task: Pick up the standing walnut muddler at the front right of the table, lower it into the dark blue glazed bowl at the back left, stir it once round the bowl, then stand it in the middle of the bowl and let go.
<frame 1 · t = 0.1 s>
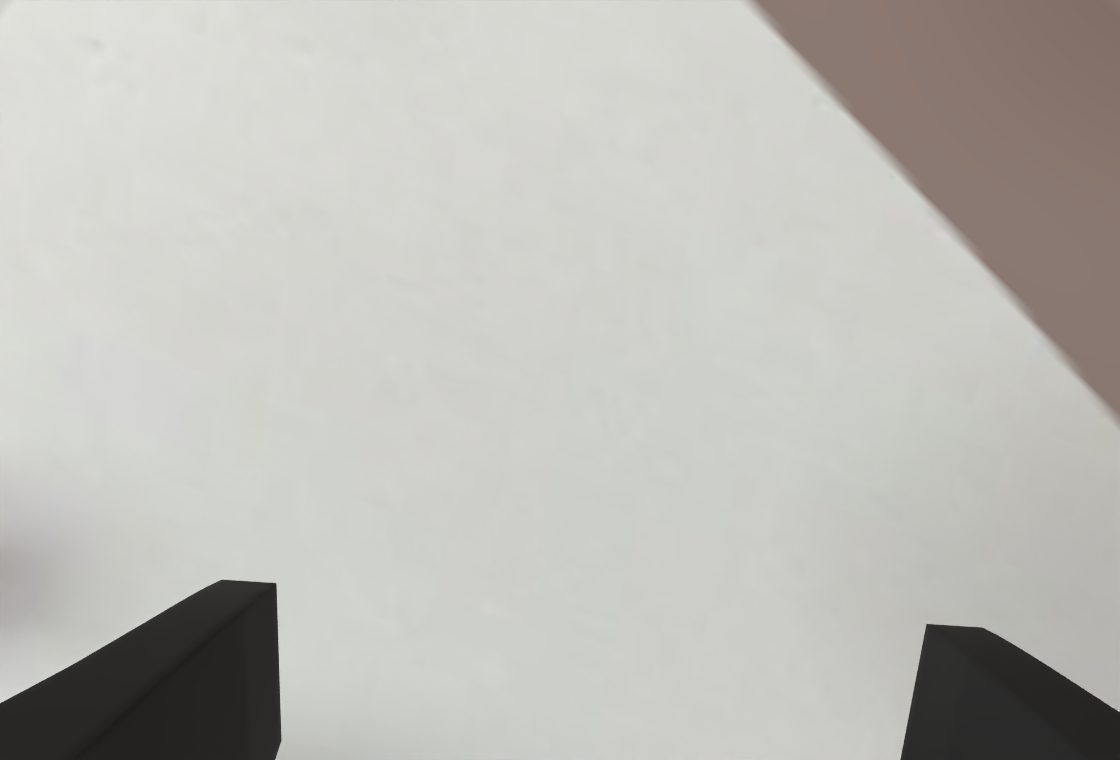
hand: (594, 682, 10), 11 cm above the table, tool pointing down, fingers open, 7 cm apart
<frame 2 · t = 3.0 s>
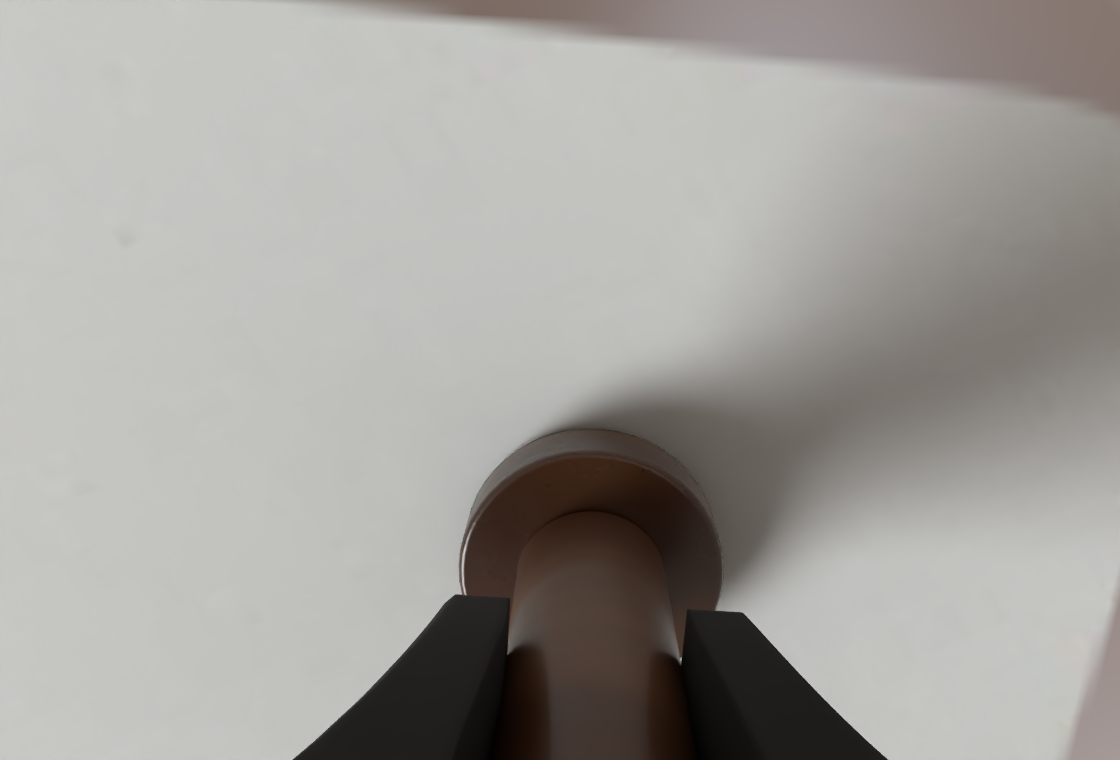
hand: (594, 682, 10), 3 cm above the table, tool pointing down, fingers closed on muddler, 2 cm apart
muddler: (590, 543, 14), on the table, touching gripper
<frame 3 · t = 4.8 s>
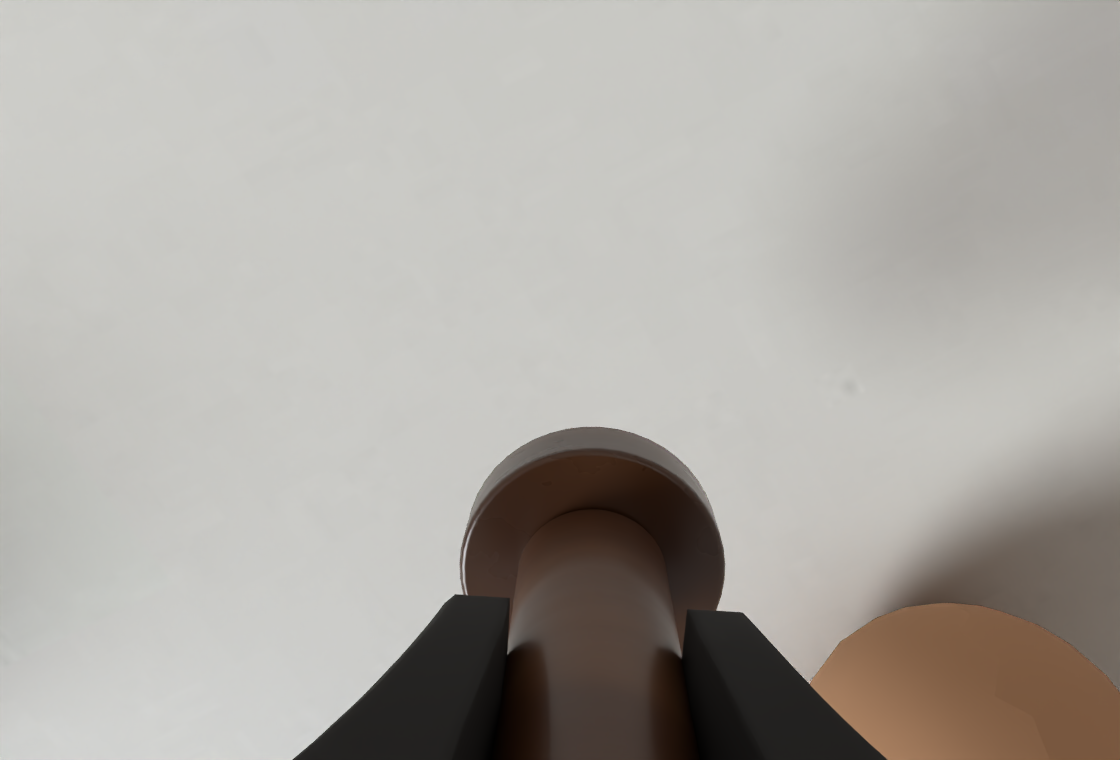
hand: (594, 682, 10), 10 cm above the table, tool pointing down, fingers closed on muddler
muddler: (591, 541, 14), point 6 cm above the table, touching gripper
egg: (901, 662, 22), on the table
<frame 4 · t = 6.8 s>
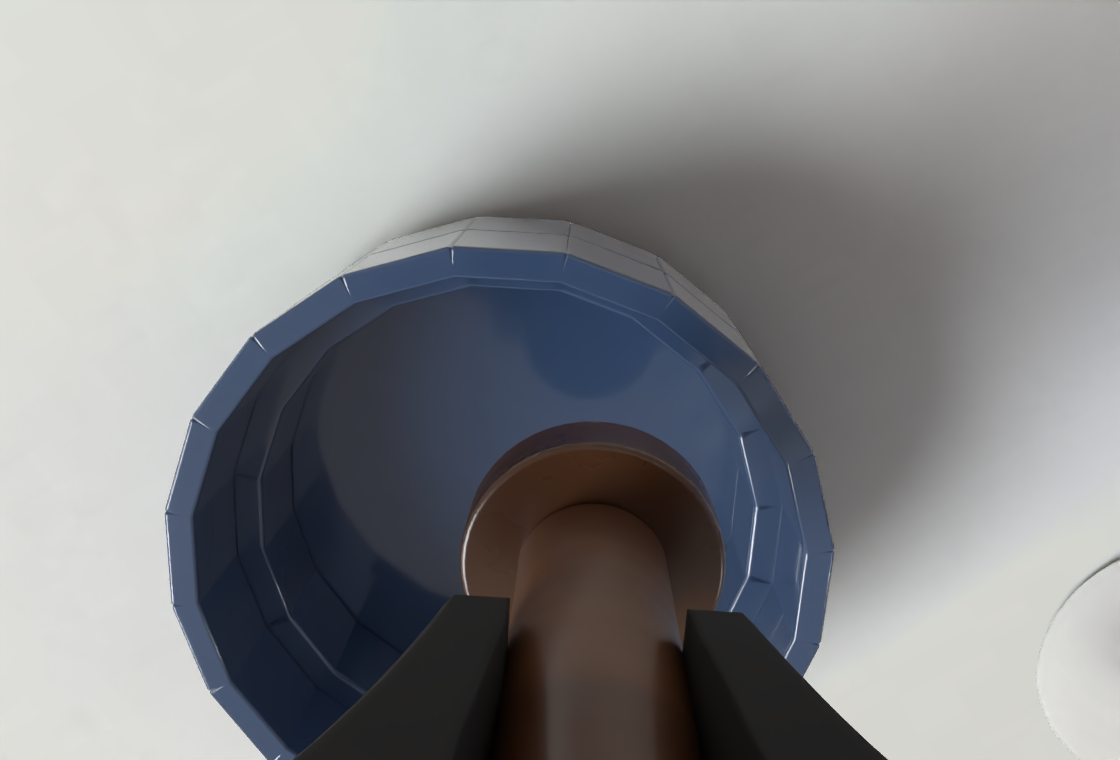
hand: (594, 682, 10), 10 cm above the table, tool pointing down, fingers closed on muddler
bowl: (515, 478, 21), on the table
muddler: (591, 536, 14), point 7 cm above the table, touching gripper
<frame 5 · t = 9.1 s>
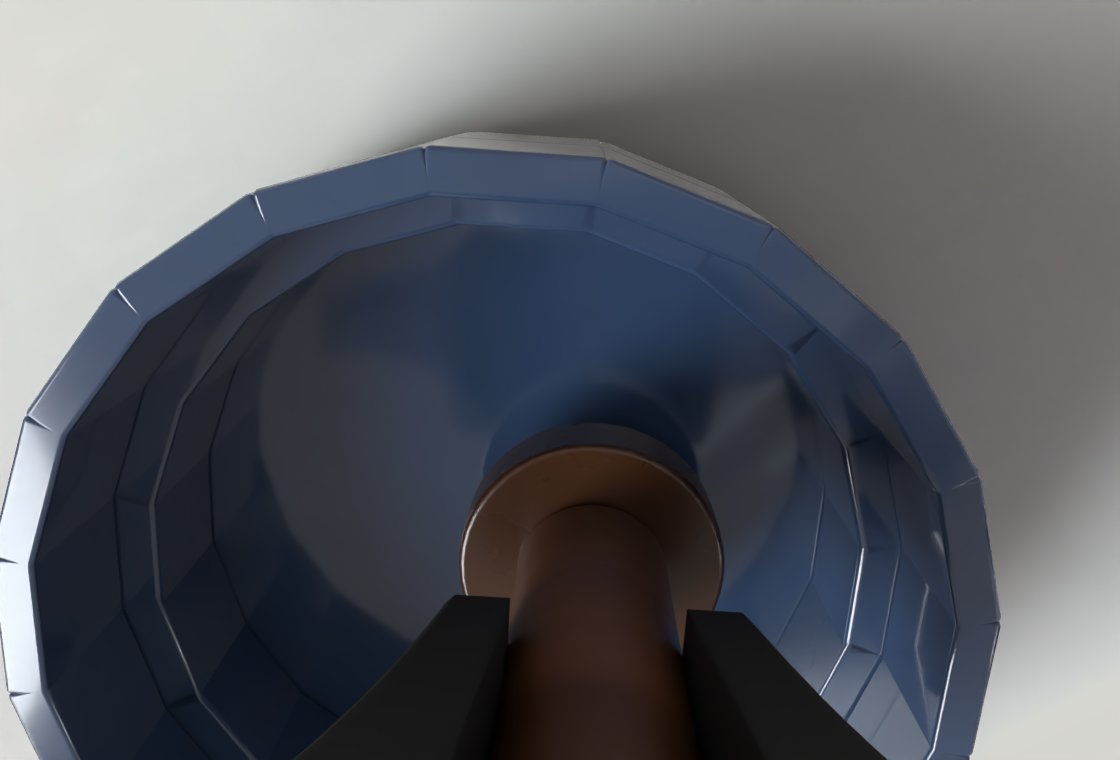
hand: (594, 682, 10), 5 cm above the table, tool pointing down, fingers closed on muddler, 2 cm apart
bowl: (517, 500, 15), on the table
muddler: (590, 537, 14), point 2 cm above the table, touching gripper
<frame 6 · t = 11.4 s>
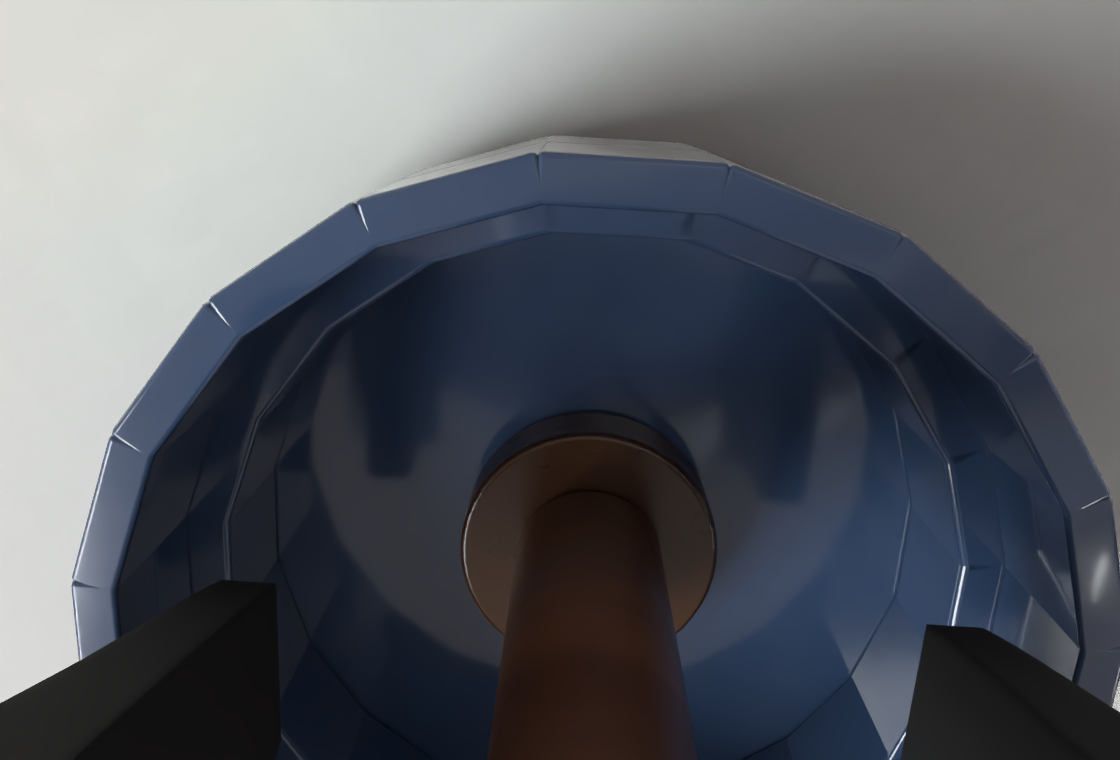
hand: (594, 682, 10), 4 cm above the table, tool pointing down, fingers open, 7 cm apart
bowl: (589, 514, 15), on the table
muddler: (587, 524, 14), point 1 cm above the table, touching bowl
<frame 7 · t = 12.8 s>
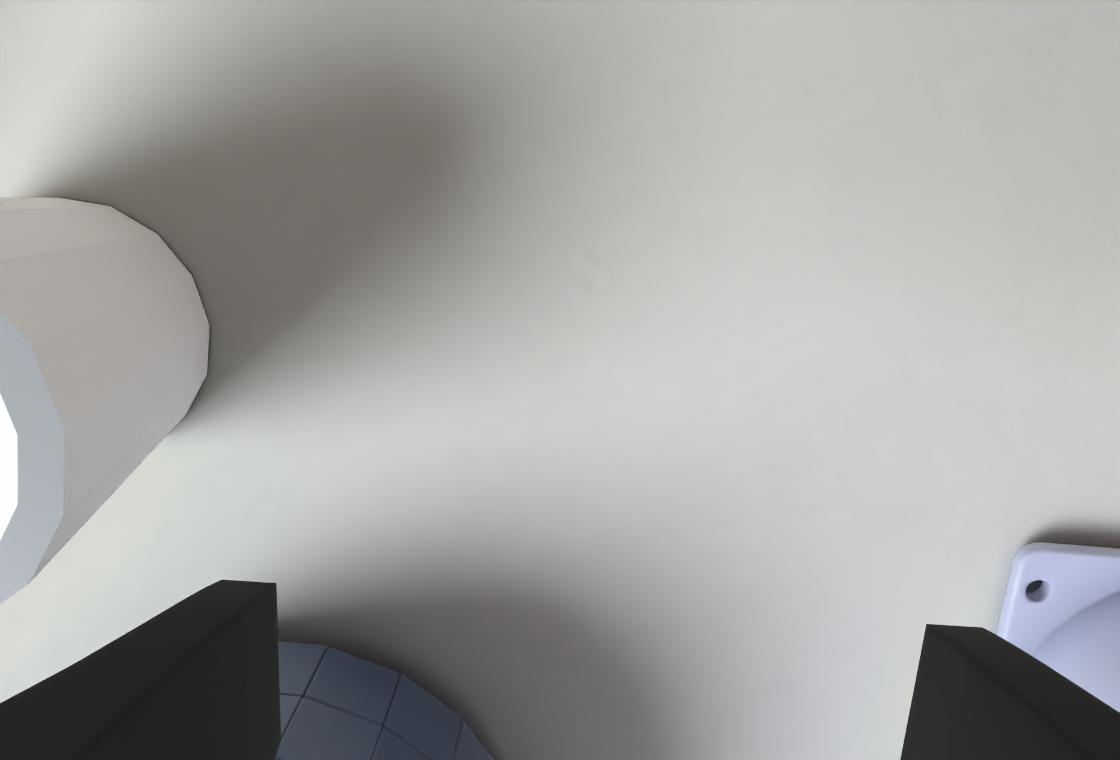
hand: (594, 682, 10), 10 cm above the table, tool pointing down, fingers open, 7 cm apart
white cylinder: (86, 327, 21), on the table
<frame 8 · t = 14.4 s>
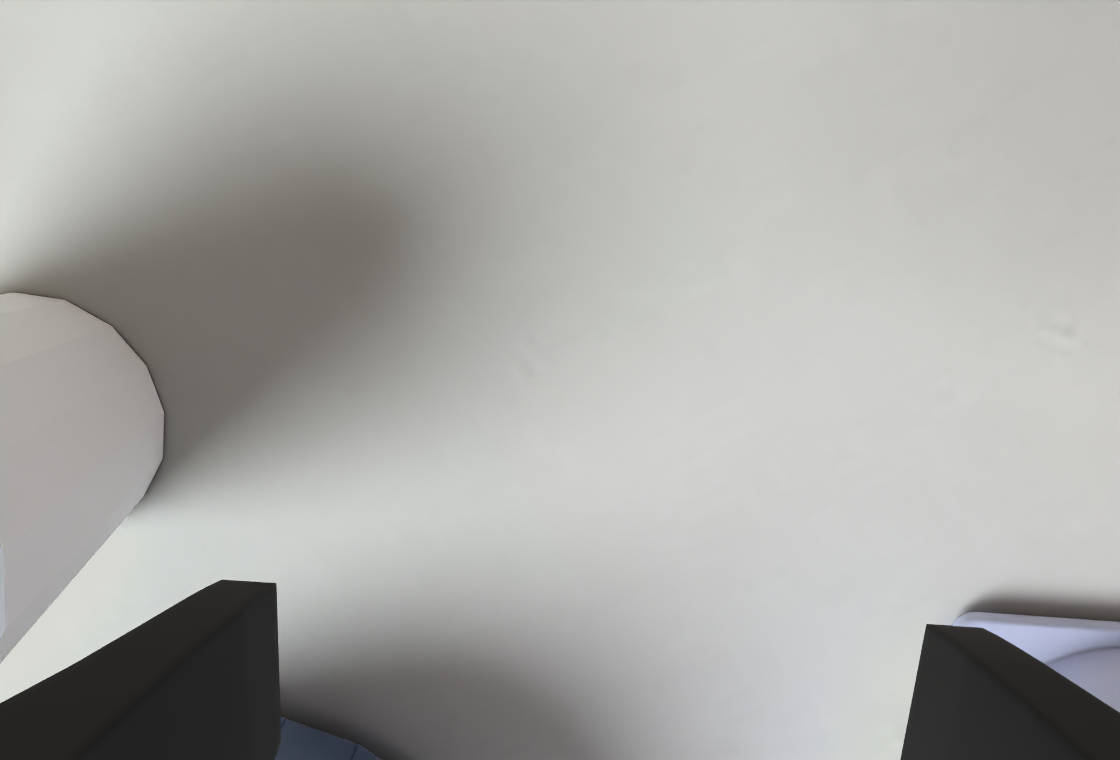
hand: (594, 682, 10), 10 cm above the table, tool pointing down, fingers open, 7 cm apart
white cylinder: (45, 414, 21), on the table
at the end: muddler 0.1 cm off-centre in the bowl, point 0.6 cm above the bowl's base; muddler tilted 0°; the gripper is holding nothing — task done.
